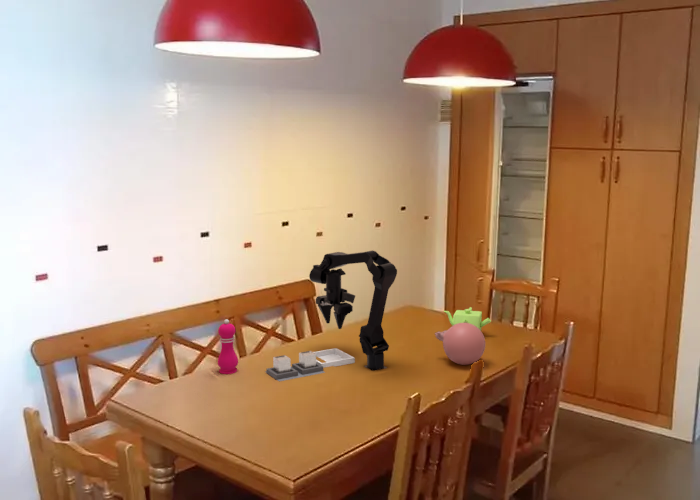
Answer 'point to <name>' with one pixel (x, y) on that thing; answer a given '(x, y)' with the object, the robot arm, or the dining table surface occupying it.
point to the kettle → (468, 317)
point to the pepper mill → (227, 349)
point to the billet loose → (307, 359)
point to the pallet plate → (295, 372)
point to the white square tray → (334, 357)
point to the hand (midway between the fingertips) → (334, 326)
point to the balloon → (462, 343)
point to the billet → (281, 364)
